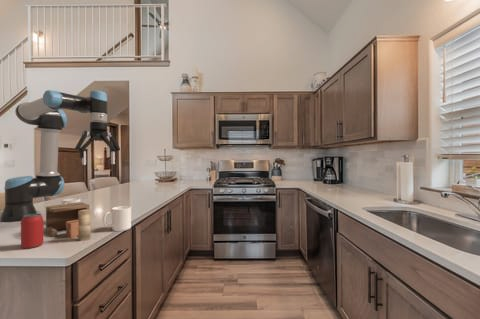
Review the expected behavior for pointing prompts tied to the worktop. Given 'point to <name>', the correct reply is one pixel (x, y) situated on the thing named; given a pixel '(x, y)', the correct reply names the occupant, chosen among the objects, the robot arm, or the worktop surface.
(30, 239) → the beer can
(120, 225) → the cup
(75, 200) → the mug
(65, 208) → the cubby shelf
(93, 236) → the worktop surface
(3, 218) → the robot arm
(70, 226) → the tethered cylinder
